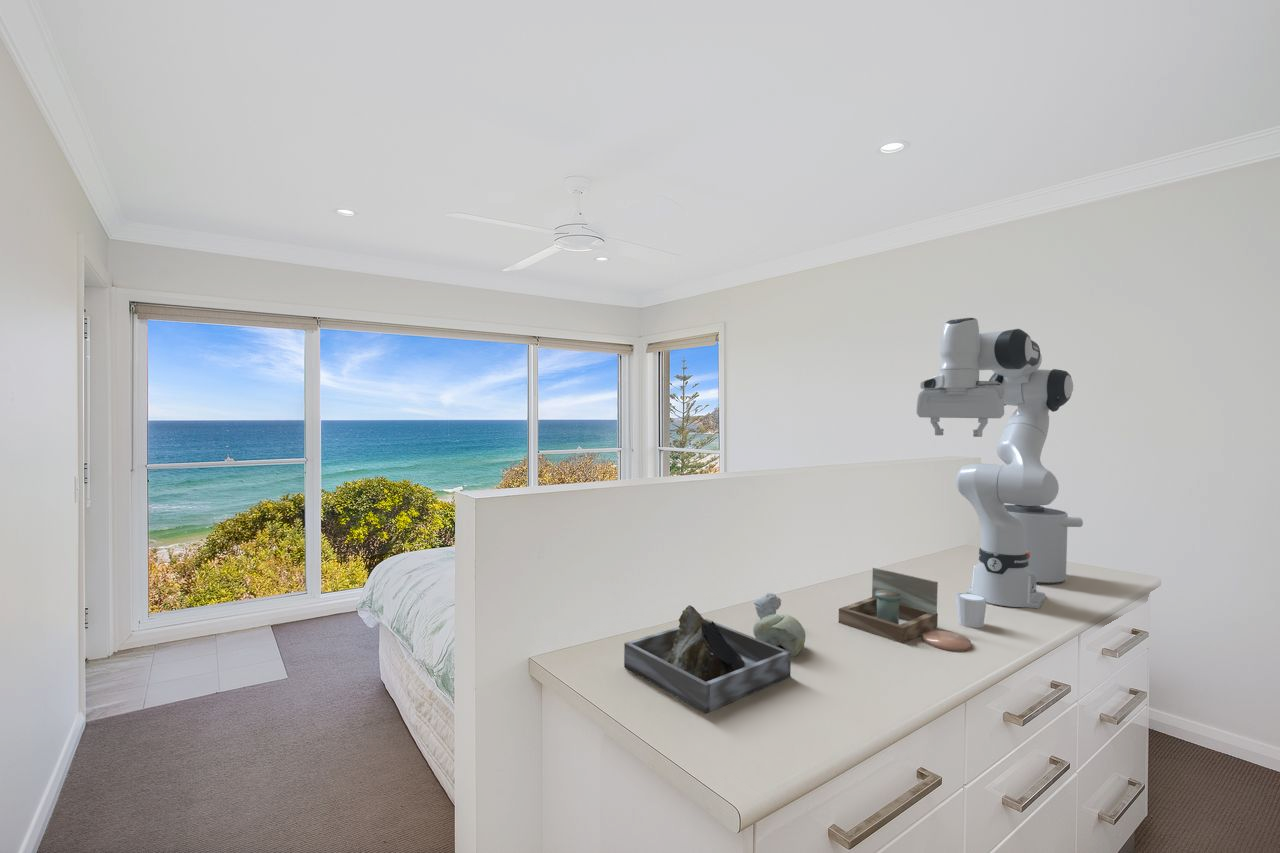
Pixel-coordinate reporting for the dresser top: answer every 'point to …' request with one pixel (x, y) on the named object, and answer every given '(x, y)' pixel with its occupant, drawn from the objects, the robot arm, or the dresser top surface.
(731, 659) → the mineral specimen
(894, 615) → the plant pot
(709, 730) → the dresser top surface
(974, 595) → the shot glass
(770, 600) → the grey rock chunk
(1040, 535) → the grey cooking pot
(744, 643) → the display tray
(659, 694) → the dresser top surface
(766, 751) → the dresser top surface
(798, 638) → the seashell
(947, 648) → the pink round part
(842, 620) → the frame
